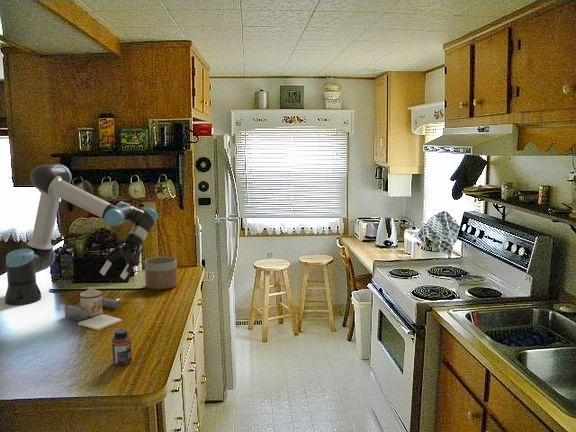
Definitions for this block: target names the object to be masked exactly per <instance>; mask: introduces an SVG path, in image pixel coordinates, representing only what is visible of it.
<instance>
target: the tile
mask: <svg viewBox="0 0 576 432" xmlns="http://www.w3.org/2000/svg"><path fill="white" fill-rule="evenodd" d="M122 321H123V319H122V318H118V317H114V316H111V315H108V314H103V313H101V314H100V315H97V316H92V317H90V318H88V319H87V320H84V321H82V322H81V321H78V323H77V325H79V326H82V327H86V328H89V329H92V330H95V331H101V330H103V329H105V328H108V327H111V326H112V325H115V324H118V323H121V322H122Z"/></svg>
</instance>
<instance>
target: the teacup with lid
mask: <svg viewBox="0 0 576 432" xmlns="http://www.w3.org/2000/svg"><path fill="white" fill-rule="evenodd" d="M79 298H80V307H81V308H84V309H88V318H89V317H90V318H93V317H96V316H99V315H102V314H103V307H102V300H103V292H102V291H101V290H98V289H96V288H95V289H94V287H93V286H90V287H88V288H87V289H86V290H84V291H82V292H80V293H79Z"/></svg>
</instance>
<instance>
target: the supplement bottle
mask: <svg viewBox="0 0 576 432" xmlns="http://www.w3.org/2000/svg"><path fill="white" fill-rule="evenodd" d="M131 339H132V338H131V336H130V335H129V334H128V329H126V328H119V329H118V328H117V329H115V330H114V336H113V337H112V339H111V343H112V344H111V347H112V348H111V349H112V361H113V365H115V366H116V367H117V366H118V367H125V366H127V365H130V363H131V362H132V359H133V358H132V342H131V341H132V340H131Z"/></svg>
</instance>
